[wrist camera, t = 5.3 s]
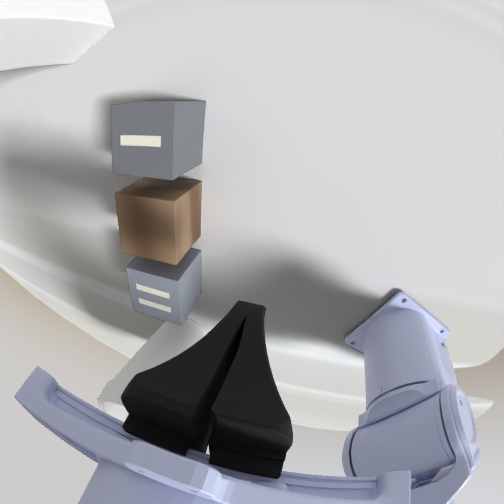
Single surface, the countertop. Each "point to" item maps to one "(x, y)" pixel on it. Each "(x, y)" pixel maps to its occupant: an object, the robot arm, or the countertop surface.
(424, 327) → the robot arm
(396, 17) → the countertop surface
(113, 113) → the charcoal block
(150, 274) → the slate block
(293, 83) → the countertop surface
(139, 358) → the foam cup
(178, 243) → the walnut block
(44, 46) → the milk
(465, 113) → the countertop surface
